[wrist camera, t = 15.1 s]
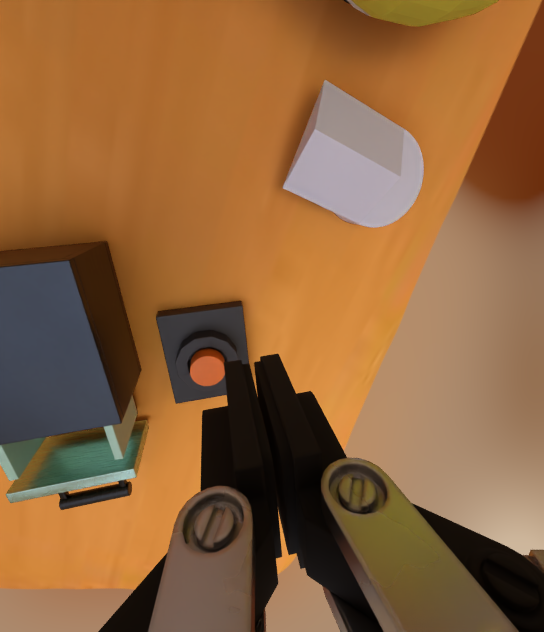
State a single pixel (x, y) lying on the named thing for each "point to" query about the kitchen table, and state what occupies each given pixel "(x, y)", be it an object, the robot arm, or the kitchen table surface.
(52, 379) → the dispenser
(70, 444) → the tray
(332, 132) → the wedge on round base
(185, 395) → the control block
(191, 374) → the button
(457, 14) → the toy
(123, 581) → the kitchen table surface
